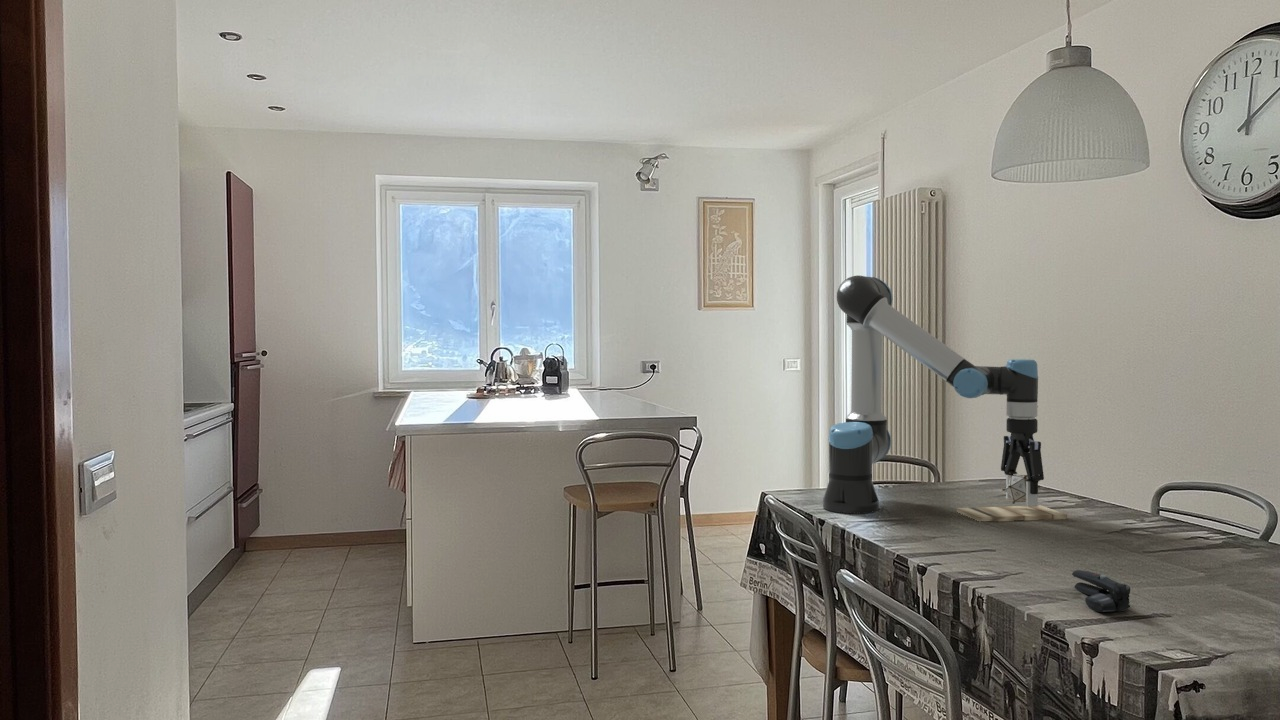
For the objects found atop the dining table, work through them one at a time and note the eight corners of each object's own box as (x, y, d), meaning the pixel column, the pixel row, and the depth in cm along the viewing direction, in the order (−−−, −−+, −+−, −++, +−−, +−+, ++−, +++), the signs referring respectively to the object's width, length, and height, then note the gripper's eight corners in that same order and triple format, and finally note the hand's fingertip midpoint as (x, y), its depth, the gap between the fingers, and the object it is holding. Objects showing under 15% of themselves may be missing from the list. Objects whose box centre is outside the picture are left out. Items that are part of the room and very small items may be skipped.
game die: (1013, 516, 230) (989, 484, 234) (1034, 502, 234) (1010, 471, 237) (1032, 506, 223) (1007, 473, 226) (1054, 491, 226) (1029, 459, 229)
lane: (979, 522, 222) (979, 517, 222) (957, 512, 234) (957, 508, 234) (1067, 518, 225) (1067, 514, 225) (1040, 509, 237) (1040, 505, 237)
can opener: (1141, 618, 148) (1141, 586, 148) (1098, 617, 149) (1098, 585, 148) (1096, 588, 166) (1097, 559, 165) (1058, 587, 166) (1058, 558, 166)
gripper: (1059, 421, 219) (1059, 510, 220) (1012, 413, 240) (1012, 494, 241) (1032, 422, 218) (1031, 511, 219) (987, 414, 239) (986, 495, 240)
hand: (1021, 502), depth 230 cm, fingers closed on game die, 9 cm apart
